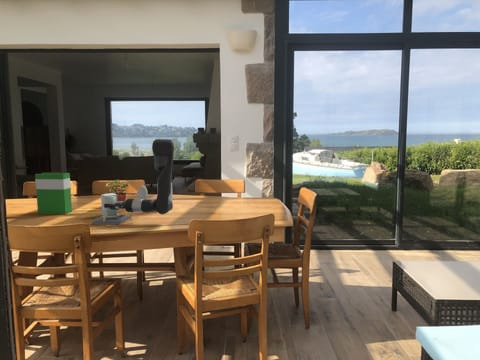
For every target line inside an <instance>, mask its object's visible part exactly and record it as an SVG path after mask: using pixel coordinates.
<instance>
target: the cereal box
mask: <svg viewBox="0 0 480 360" xmlns="http://www.w3.org/2000/svg"><path fill="white" fill-rule="evenodd" d="M34 177H35V190H36V191H35V192H36V205H37V206H36V207H37V214H42V215H45V214H46V215H67V214H70V213H72V212H73V206H72V191H71V174H70V172H41V173H35V174H34Z"/></svg>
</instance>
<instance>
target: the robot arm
mask: <svg viewBox="0 0 480 360" xmlns="http://www.w3.org/2000/svg"><path fill="white" fill-rule="evenodd" d="M174 144H175V142H174V141H173V139H171V138H156V139H154V140H153V141H152V145H151V149H152V150H151V151H152V155H153V160H154V161H153V163H154V164H153V165H154V169H155V171H156V172H159V173H160V174H159V176H158V177H157V179H156V183H157V184H156V186H157V188H156V189H157V193H156V194H157V195H156V199H148V198H147V199H139V198H127V199H126V200H117V202H116V203H114V204H104V208H110V209H113V210H118V211H120V210H125V212H127V213H136V214H137V213H153V212H157V213H158V214H160V215H166V214H168V212H170V211H172V210H173V209H174V208H173V207H174V205H173V204H174V203H173V200H174V199H173V165H174V154H175V145H174Z"/></svg>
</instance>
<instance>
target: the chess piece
mask: <svg viewBox="0 0 480 360" xmlns="http://www.w3.org/2000/svg"><path fill="white" fill-rule="evenodd" d="M134 194H135V195H134V196H135V197H136V198H138V199H148V189H147V187H146V186H145V185H141V186H140V187H138V190H137V192H136V193H134Z"/></svg>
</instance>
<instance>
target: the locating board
mask: <svg viewBox="0 0 480 360" xmlns="http://www.w3.org/2000/svg"><path fill="white" fill-rule="evenodd" d="M131 219H132V215H129V214H120V216H119V217H116V218H106V216H103V215H101V216H100V217H97V218H95V219H94V220H93V221H91V226H92V225H93V226H107V225H110V226H109V227H117V226H119V225H120V224H122V223H124V222H126V221H129V220H131Z"/></svg>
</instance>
